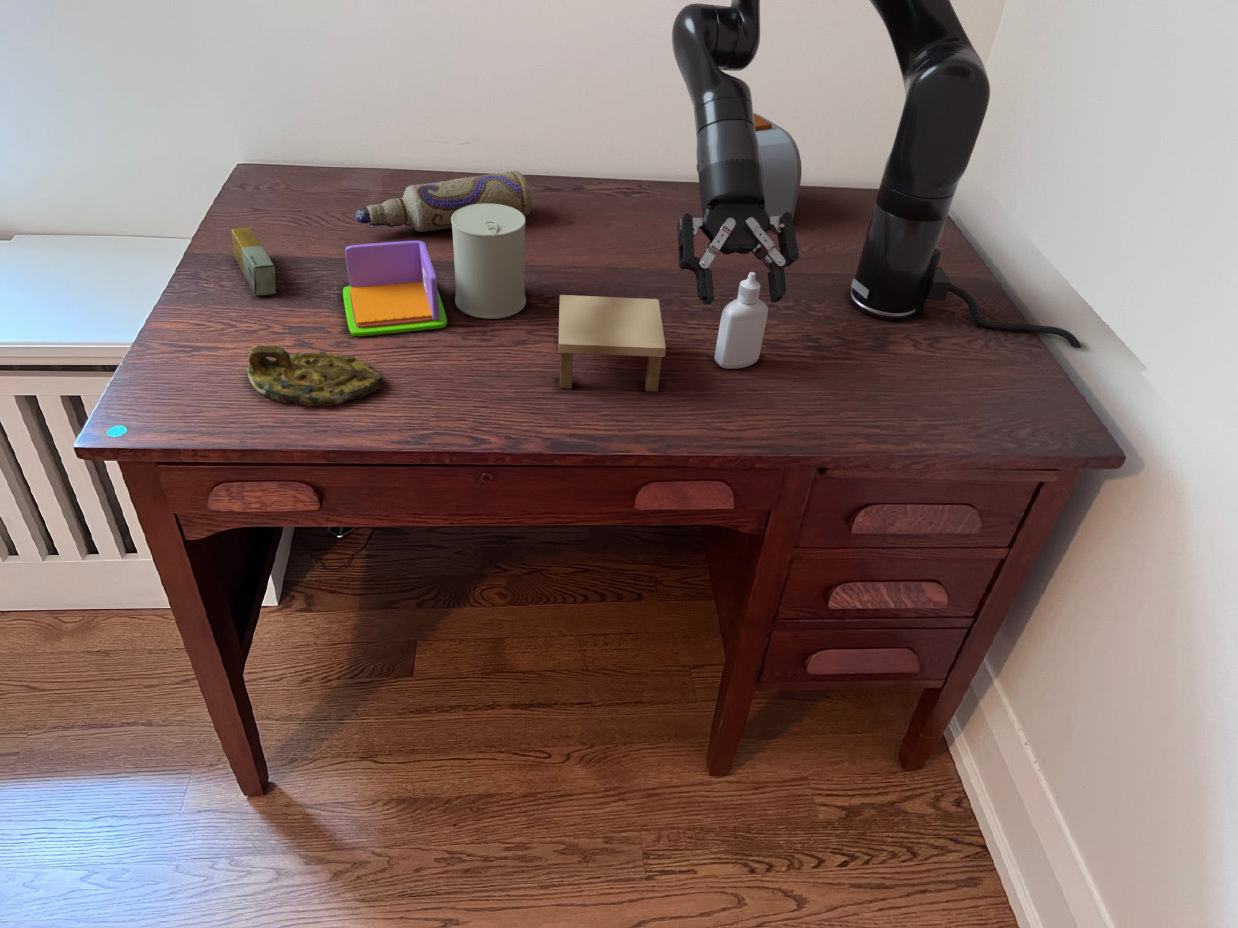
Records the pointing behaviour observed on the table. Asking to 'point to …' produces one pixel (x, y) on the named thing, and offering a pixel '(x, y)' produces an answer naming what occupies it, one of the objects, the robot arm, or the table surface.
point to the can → (489, 260)
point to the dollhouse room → (391, 289)
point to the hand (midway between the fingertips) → (743, 301)
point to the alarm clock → (778, 167)
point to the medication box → (254, 262)
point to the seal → (310, 376)
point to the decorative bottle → (448, 201)
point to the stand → (610, 332)
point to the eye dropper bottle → (742, 327)
